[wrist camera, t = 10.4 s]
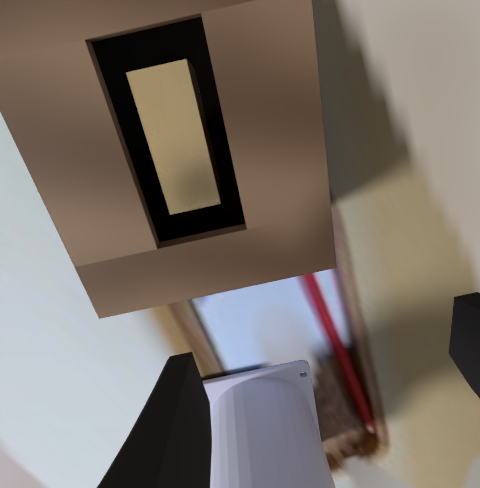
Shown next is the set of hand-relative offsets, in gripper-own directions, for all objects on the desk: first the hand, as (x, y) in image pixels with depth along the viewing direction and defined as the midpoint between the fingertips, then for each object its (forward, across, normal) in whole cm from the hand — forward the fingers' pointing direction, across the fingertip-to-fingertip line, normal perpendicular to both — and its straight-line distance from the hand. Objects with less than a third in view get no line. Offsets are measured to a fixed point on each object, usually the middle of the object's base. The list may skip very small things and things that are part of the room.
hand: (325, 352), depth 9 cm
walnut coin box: (+10, +3, -5) cm, 12 cm away
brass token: (+11, +3, -5) cm, 12 cm away
